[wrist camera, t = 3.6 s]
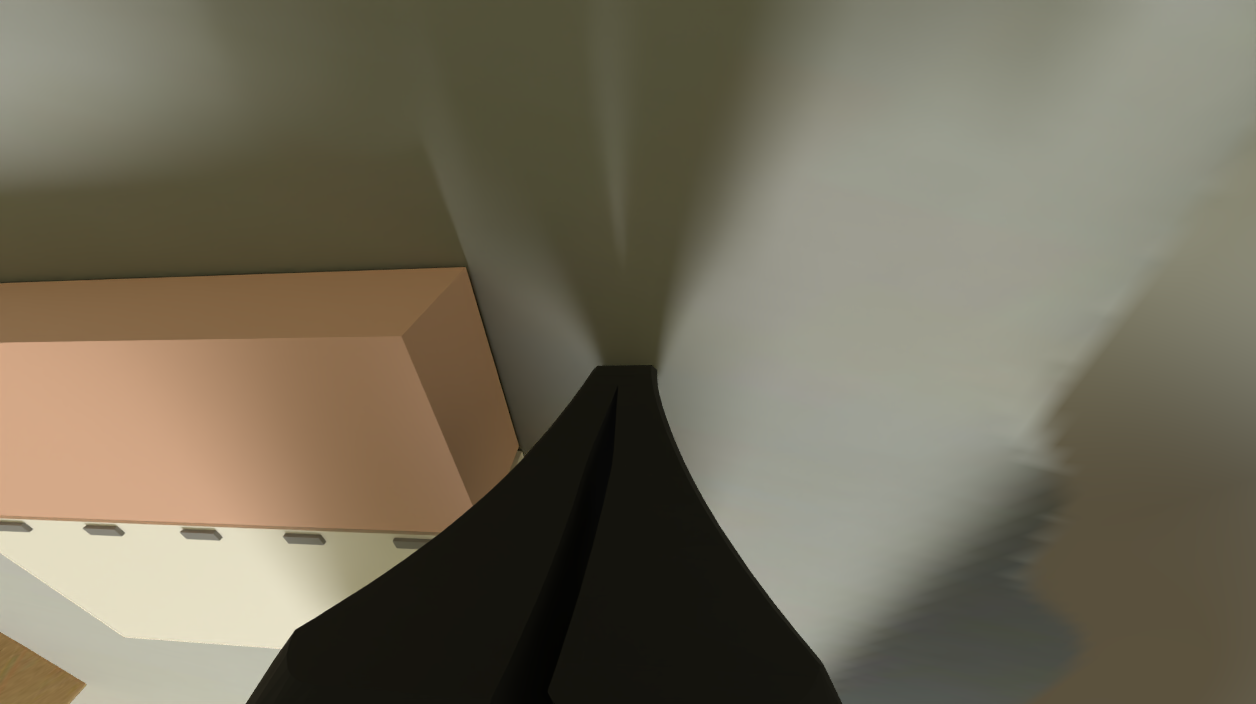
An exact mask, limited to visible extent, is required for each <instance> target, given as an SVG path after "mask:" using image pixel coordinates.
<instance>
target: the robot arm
mask: <svg viewBox="0 0 1256 704" xmlns="http://www.w3.org/2000/svg"><path fill="white" fill-rule="evenodd" d="M246 704H842V702H841V700H840V698H839V696H838V694H837V692H836V690H835V688H834V685H833V683H832V681H831V679H830V677H829V675H828V673H827V671H826V669H825V667H824V665H823V663H822V662H821V660H820V659H819V658H818V657H817V655H816V654H815V653H814V652H813V651H812V649H811V648H810V647H809V646H808V645H807V643H806V642H805V641H804V640H803V639H802V637H801V636H800V635H799V634H798V633H797V631H796V630H795V629H794V628H793V626H792V625H791V624H790V623H789V621H788V620H787V619H786V618H785V616H784V615H783V614H782V613H781V611H780V610H779V609H778V608H777V606H776V605H775V604H774V602H773V601H772V600H771V598H770V597H769V596H768V594H767V593H766V592H765V590H764V589H763V588H762V586H761V585H760V584H759V582H758V581H757V580H756V578H755V577H754V576H753V574H752V573H751V572H750V570H749V569H748V567H747V566H746V564H745V563H744V561H743V560H742V558H741V557H740V555H739V554H738V552H737V551H736V550H735V548H734V547H733V545H732V544H731V542H730V541H729V539H728V538H727V536H726V535H725V533H724V532H723V530H722V529H721V527H720V526H719V524H718V522H717V521H716V519H715V517H714V516H713V514H712V512H711V511H710V509H709V507H708V506H707V504H706V502H705V501H704V499H703V497H702V495H701V493H700V492H699V490H698V488H697V486H696V484H695V482H694V481H693V479H692V477H691V475H690V473H689V471H688V469H687V467H686V465H685V462H684V460H683V458H682V456H681V454H680V451H679V449H678V447H677V445H676V442H675V440H674V437H673V435H672V432H671V430H670V427H669V424H668V421H667V419H666V416H665V413H664V410H663V406H662V403H661V399H660V395H659V391H658V381H657V369H655V368H654V367H653V366H652V365H630V366H597V367H596V368H595V369H594V370H593V371H592V372H591V374H590V375H589V377H588V378H587V380H586V381H585V383H584V384H583V385H582V387H581V388H580V390H579V391H578V392H577V394H576V395H575V396H574V398H573V399H572V401H571V402H570V403H569V405H568V406H567V407H566V408H565V410H564V411H563V412H562V413H561V415H560V416H559V417H558V418H557V420H556V421H555V422H554V423H553V425H552V426H551V427H550V428H549V430H548V431H547V432H546V433H545V434H544V435H543V436H542V438H541V439H540V440H539V441H538V442H537V443H536V444H535V445H534V447H533V448H532V449H531V450H530V451H529V452H528V453H527V454H526V455H525V457H524V458H523V459H522V460H521V461H520V462H519V463H518V464H517V465H516V466H515V467H514V468H513V469H512V470H511V471H510V472H509V473H508V474H507V475H506V476H505V477H504V478H503V479H502V480H501V481H500V482H499V483H498V484H497V485H496V486H494V487H493V488H492V489H491V490H490V491H489V492H488V493H487V494H486V495H485V496H484V497H483V498H481V499H480V500H479V501H478V502H477V503H476V504H474V505H473V506H472V507H471V508H470V509H469V510H467V511H466V512H465V513H464V514H463V515H462V516H460V517H459V518H458V519H457V520H456V521H454V522H453V523H452V524H451V525H449V526H448V527H447V528H446V529H445V530H443V531H442V532H441V533H439V534H438V535H437V536H436V537H434V538H433V539H432V540H430V541H429V542H427V543H426V544H425V545H423V546H422V547H421V548H419V549H418V550H417V551H415V552H414V553H412V554H411V555H410V556H408V557H407V558H406V559H404V560H403V561H401V562H400V563H399V564H397V565H396V566H394V567H393V568H391V569H390V570H389V571H387V572H386V573H384V574H383V575H381V576H380V577H378V578H377V579H375V580H374V581H372V582H371V583H369V584H368V585H366V586H365V587H363V588H361V589H360V590H358V591H357V592H355V593H353V594H352V595H350V596H349V597H347V598H346V599H344V600H342V601H341V602H339V603H338V604H336V605H334V606H333V607H331V608H330V609H328V610H326V611H325V612H323V613H322V614H320V615H319V616H317V617H315V618H314V619H312V620H310V621H309V622H307V623H305V624H304V625H302V626H300V627H299V628H297V629H295V631H294V632H293V633H292V635H291V636H290V638H289V639H288V640H287V642H286V643H285V645H284V646H283V648H282V649H281V651H280V652H279V654H278V655H277V656H276V658H275V659H274V661H273V662H272V664H271V665H270V667H269V669H268V670H267V672H266V673H265V675H264V676H263V678H262V679H261V681H260V683H259V684H258V686H257V687H256V689H255V690H254V692H253V693H252V695H251V696H250V698H249V700H248V701H247V703H246Z"/></svg>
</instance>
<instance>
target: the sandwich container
mask: <svg viewBox="0 0 1256 704" xmlns="http://www.w3.org/2000/svg"><path fill="white" fill-rule="evenodd" d="M85 686H86V684H85V683H84V682H82V681H80V680H79V679H77V678H76V677H74V676H72V675H71V674H69V673H67V672H66V671H64V670H62V669H61V668H59V667H57V666H56V665H54V664H53V663H51V662H49V661H48V660H46V659H44V658H43V657H41V656H39V655H38V654H36V653H34V652H33V651H31V650H30V649H28V648H26V647H25V646H23V645H21V644H20V643H18V642H16V641H14V640H13V639H11V638H9V637H7V636H6V635H4V634H2V633H1V632H0V704H70V703H71V702H72V701H73V700H74V698H75V697H76V696H77V695H78V694H79V693H80V692H81V691H82V690H83V688H84V687H85Z"/></svg>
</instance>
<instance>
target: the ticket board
mask: <svg viewBox="0 0 1256 704" xmlns="http://www.w3.org/2000/svg"><path fill="white" fill-rule="evenodd" d="M523 458H524V456H523V452H522V451H517V453H516V455H515V458H514V460H513V463H512V465H511V468H510V470H509V472H510V471H511V470H512V469H513V468H514V467H515V466H516V465H517V464H518V463H519V462H520V461H521V460H522V459H523ZM439 533H441V532H419V531H393V530H367V529H341V528H315V527H290V526H264V525H238V524H212V523H186V522H160V521H134V520H108V519H82V518H56V517H30V516H4V515H0V553H1V554H2V555H4V556H5V557H7V558H8V559H10V560H11V561H13V562H14V563H16V564H17V565H19V566H20V567H22V568H23V569H24V570H26V571H27V572H29V573H30V574H32V575H33V576H35V577H36V578H38V579H39V580H41V581H42V582H44V583H45V584H47V585H48V586H49V587H51V588H52V589H54V590H55V591H57V592H58V593H60V594H61V595H63V596H64V597H66V598H67V599H69V600H70V601H71V602H73V603H74V604H76V605H77V606H79V607H80V608H82V609H83V610H85V611H86V612H88V613H89V614H91V615H92V616H94V617H95V618H96V619H98V620H99V621H101V622H102V623H104V624H105V625H107V626H108V627H110V628H111V629H113V630H114V631H116V632H117V633H118V634H120V635H121V636H123V637H127V638H140V639H154V640H167V641H181V642H194V643H208V644H221V645H235V646H248V647H262V648H275V649H282V648H283V646H284V645H285V643H286V642H287V640H288V639H289V638H290V636H291V635H292V633H293V632H294V631H295V629H297V628H299V627H300V626H302V625H304V624H305V623H307V622H309V621H310V620H312V619H314V618H315V617H317V616H319V615H320V614H322V613H323V612H325V611H326V610H328V609H330V608H331V607H333V606H334V605H336V604H338V603H339V602H341V601H342V600H344V599H346V598H347V597H349V596H350V595H352V594H353V593H355V592H357V591H358V590H360V589H361V588H363V587H365V586H366V585H368V584H369V583H371V582H372V581H374V580H375V579H377V578H378V577H380V576H381V575H383V574H384V573H386V572H387V571H389V570H390V569H391V568H393V567H394V566H396V565H397V564H399V563H400V562H401V561H403V560H404V559H406V558H407V557H408V556H410V555H411V554H412V553H414V552H415V551H417V550H418V549H419V548H421V547H422V546H423V545H425V544H426V543H427V542H429V541H430V540H432V539H433V538H434V537H436V536H437V535H438V534H439Z"/></svg>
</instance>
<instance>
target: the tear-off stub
mask: <svg viewBox="0 0 1256 704" xmlns="http://www.w3.org/2000/svg"><path fill="white" fill-rule="evenodd" d="M518 447H519V445H518V441H517V438H516V435H515V431H514V428H513V425H512V421H511V418H510V414H509V411H508V408H507V404H506V401H505V398H504V394H503V391H502V387H501V384H500V381H499V377H498V374H497V371H496V367H495V364H494V360H493V357H492V354H491V350H490V347H489V344H488V340H487V337H486V334H485V330H484V327H483V323H482V320H481V317H480V313H479V310H478V307H477V303H476V300H475V296H474V293H473V290H472V286H471V283H470V280H469V276H468V273H467V269H466V267H453V268H424V269H395V270H366V271H338V272H309V273H280V274H251V275H222V276H193V277H164V278H135V279H106V280H77V281H48V282H19V283H0V515H4V516H30V517H56V518H82V519H108V520H134V521H160V522H186V523H212V524H238V525H264V526H290V527H315V528H341V529H367V530H393V531H419V532H442V531H443V530H445V529H446V528H447V527H448V526H449V525H451V524H452V523H453V522H454V521H456V520H457V519H458V518H459V517H460V516H462V515H463V514H464V513H465V512H466V511H467V510H469V509H470V508H471V507H472V506H473V505H474V504H476V503H477V502H478V501H479V500H480V499H481V498H483V497H484V496H485V495H486V494H487V493H488V492H489V491H490V490H491V489H492V488H493V487H494V486H496V485H497V484H498V483H499V482H500V481H501V480H502V479H503V478H504V477H505V476H506V475H507V474H508V473H509V470H510V468H511V465H512V463H513V460H514V458H515V455H516V453H517V450H518Z"/></svg>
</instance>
